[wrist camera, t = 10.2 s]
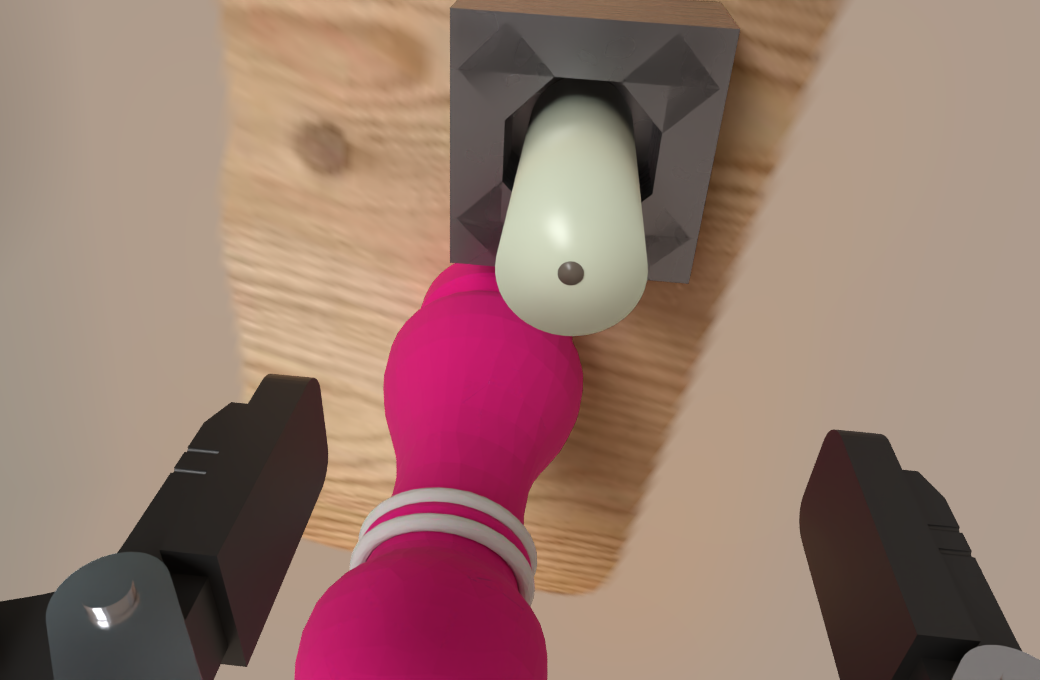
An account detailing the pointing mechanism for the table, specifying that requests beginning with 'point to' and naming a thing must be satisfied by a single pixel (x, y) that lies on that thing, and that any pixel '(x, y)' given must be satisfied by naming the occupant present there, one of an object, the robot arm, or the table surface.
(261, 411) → the robot arm
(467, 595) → the pepper mill
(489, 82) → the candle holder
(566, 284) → the candle
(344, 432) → the table surface
